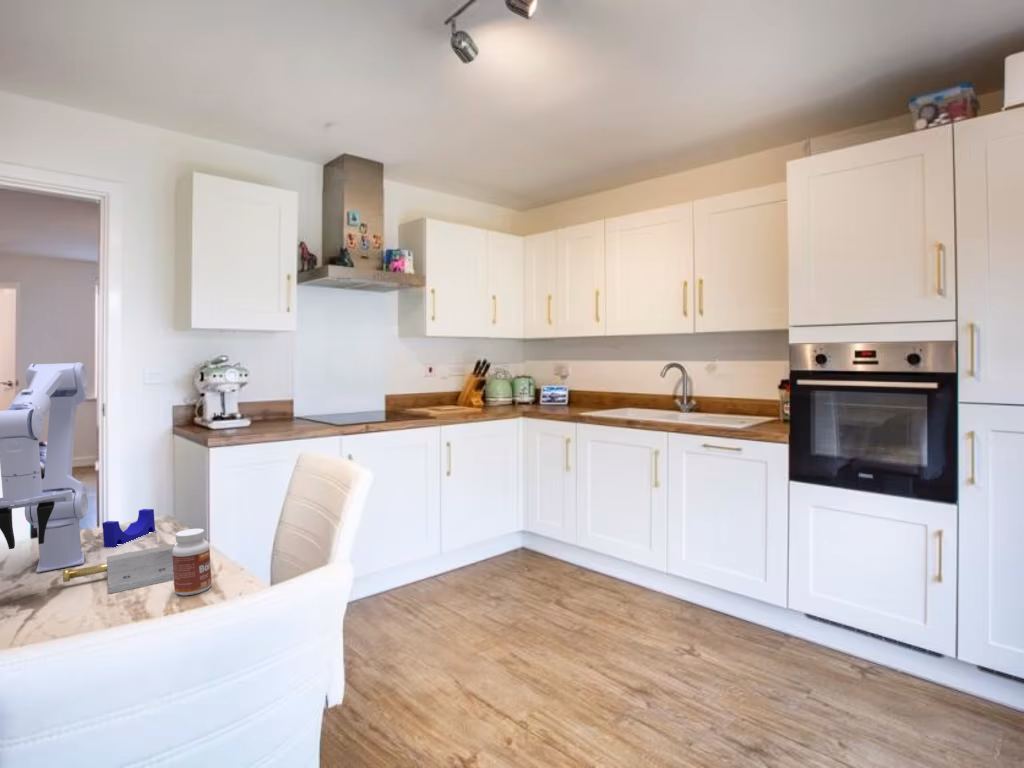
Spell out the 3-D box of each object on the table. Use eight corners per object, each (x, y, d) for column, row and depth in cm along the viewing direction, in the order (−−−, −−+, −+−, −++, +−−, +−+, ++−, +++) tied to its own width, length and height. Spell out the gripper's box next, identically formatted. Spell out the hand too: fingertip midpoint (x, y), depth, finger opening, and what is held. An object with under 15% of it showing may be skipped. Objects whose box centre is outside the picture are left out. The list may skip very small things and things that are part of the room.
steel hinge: (108, 593, 109) (107, 573, 109) (107, 564, 125) (105, 546, 125) (181, 577, 116) (180, 558, 116) (171, 552, 132) (170, 535, 132)
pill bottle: (206, 594, 108) (203, 535, 107) (169, 598, 106) (165, 538, 106) (215, 581, 114) (212, 525, 113) (180, 585, 112) (177, 528, 112)
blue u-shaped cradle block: (140, 531, 149) (138, 508, 149) (155, 532, 149) (153, 509, 148) (98, 547, 138) (96, 522, 137) (115, 548, 137) (113, 523, 136)
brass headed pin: (63, 583, 112) (62, 572, 112) (63, 580, 114) (63, 568, 114) (143, 567, 120) (142, 556, 120) (142, 564, 122) (141, 553, 121)
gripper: (-36, 483, 102) (-29, 559, 102) (69, 471, 110) (74, 542, 111) (-29, 476, 107) (-23, 549, 108) (70, 465, 116) (75, 533, 116)
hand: (26, 545), depth 110 cm, fingers open, 4 cm apart
